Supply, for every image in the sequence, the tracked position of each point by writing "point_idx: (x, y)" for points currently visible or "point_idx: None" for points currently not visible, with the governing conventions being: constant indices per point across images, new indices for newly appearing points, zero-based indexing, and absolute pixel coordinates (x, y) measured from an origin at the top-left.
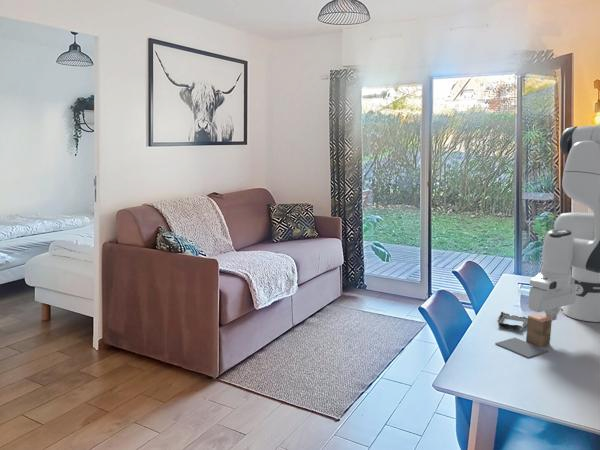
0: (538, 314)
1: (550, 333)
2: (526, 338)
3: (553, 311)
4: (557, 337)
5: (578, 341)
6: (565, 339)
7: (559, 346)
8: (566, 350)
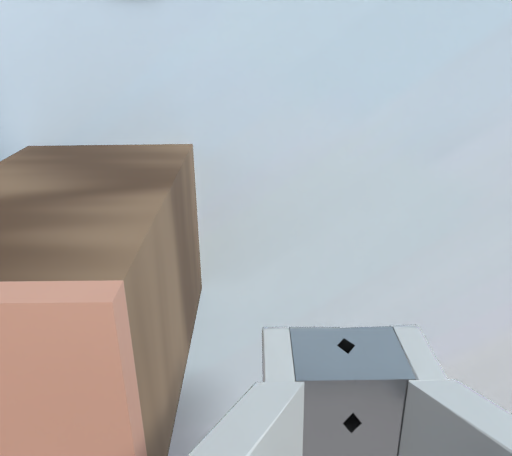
0: (46, 360)
1: (187, 355)
2: (10, 159)
3: (455, 452)
4: (432, 223)
5: (492, 360)
6: (444, 286)
7: (238, 350)
8: (214, 413)
